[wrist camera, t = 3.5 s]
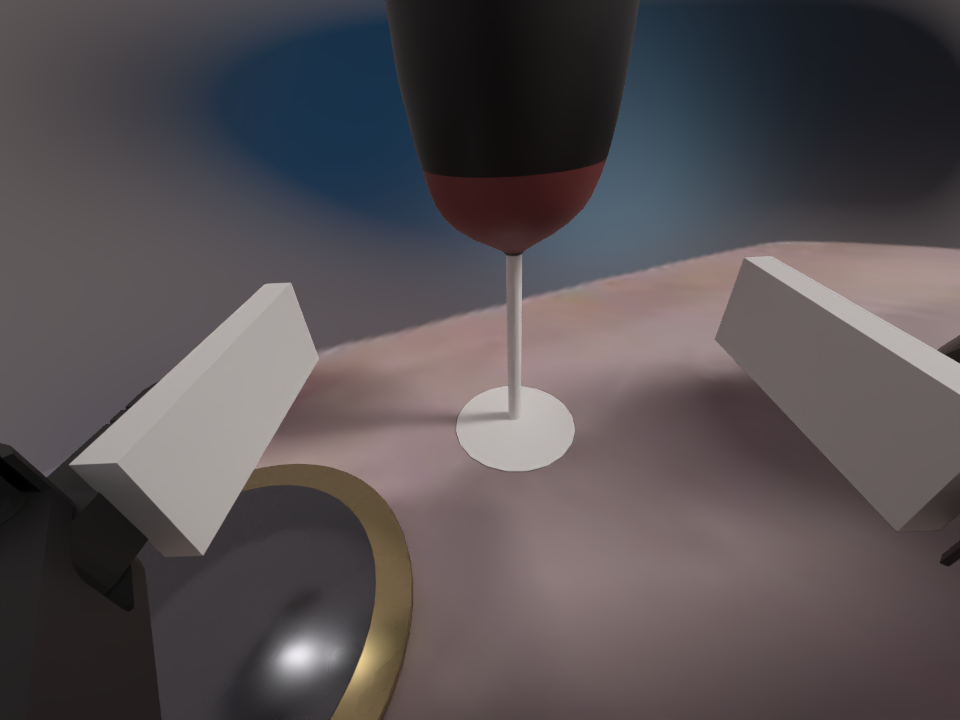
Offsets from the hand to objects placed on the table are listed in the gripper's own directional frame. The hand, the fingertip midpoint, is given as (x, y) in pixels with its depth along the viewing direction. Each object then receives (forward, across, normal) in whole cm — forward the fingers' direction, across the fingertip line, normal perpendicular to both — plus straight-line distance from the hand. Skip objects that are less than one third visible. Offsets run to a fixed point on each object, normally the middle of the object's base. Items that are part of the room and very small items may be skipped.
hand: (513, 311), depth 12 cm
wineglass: (+7, +1, -12) cm, 14 cm away
